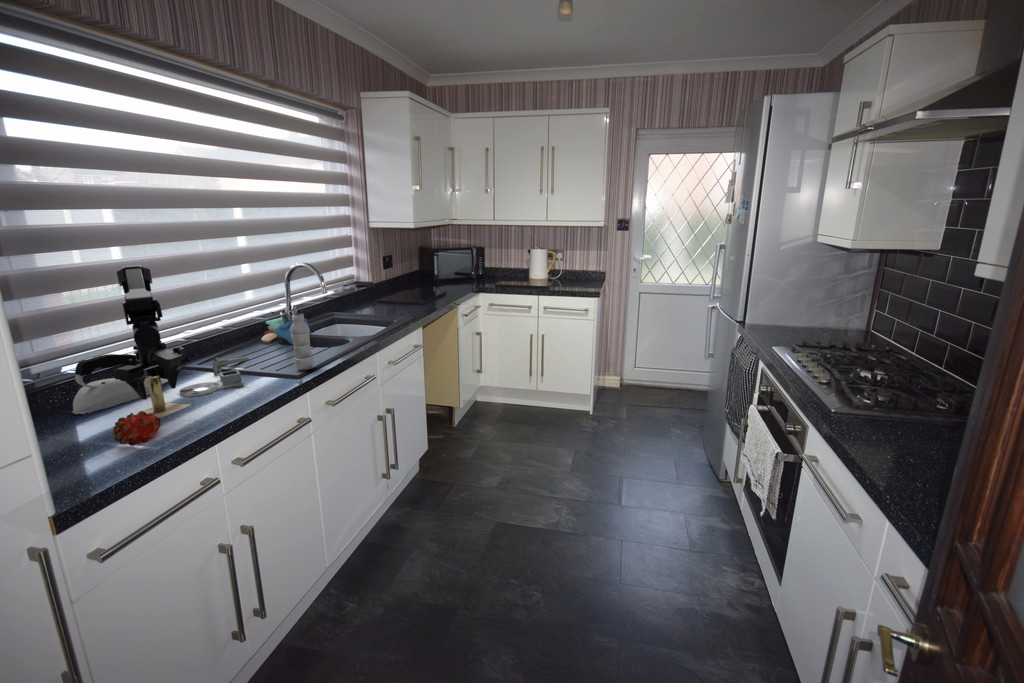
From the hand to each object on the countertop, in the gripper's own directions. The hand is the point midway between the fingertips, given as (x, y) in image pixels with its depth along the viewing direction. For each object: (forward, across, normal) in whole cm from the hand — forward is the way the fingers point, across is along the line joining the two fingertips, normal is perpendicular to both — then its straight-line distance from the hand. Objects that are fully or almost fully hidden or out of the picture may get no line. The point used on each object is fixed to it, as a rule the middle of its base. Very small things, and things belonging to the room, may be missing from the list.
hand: (159, 393), depth 148 cm
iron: (+6, +5, +22) cm, 23 cm away
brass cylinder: (+5, -1, 0) cm, 5 cm away
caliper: (+6, +41, +14) cm, 44 cm away
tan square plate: (+6, 0, 0) cm, 6 cm away
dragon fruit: (+6, -17, -12) cm, 22 cm away
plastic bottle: (+6, +43, -16) cm, 46 cm away
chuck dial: (+5, +19, +1) cm, 19 cm away
